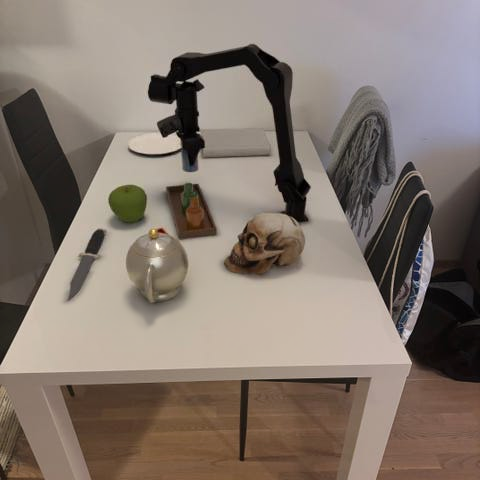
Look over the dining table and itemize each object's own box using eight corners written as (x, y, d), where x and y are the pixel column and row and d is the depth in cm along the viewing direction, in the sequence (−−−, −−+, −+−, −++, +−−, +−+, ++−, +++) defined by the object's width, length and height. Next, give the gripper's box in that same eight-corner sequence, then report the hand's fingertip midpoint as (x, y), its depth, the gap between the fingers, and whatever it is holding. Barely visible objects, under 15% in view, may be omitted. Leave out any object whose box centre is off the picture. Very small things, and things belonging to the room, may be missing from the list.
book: (200, 129, 180) (262, 127, 182) (200, 139, 183) (262, 137, 185) (203, 148, 167) (270, 145, 169) (203, 158, 169) (270, 156, 171)
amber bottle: (206, 231, 130) (204, 203, 124) (188, 233, 129) (186, 205, 123) (202, 223, 133) (201, 195, 128) (185, 225, 132) (183, 196, 127)
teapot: (138, 271, 116) (129, 211, 106) (194, 273, 116) (190, 213, 105) (120, 319, 103) (107, 255, 92) (183, 322, 102) (177, 258, 92)
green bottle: (199, 215, 137) (198, 187, 131) (183, 217, 136) (181, 189, 130) (197, 207, 140) (195, 180, 135) (180, 209, 139) (178, 181, 134)
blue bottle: (199, 171, 139) (198, 142, 134) (183, 172, 138) (181, 143, 133) (197, 165, 143) (195, 136, 137) (181, 166, 142) (179, 137, 136)
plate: (119, 154, 171) (118, 149, 170) (141, 134, 186) (141, 130, 185) (173, 160, 167) (173, 155, 166) (192, 139, 183) (192, 135, 182)
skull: (218, 264, 118) (222, 215, 110) (260, 243, 130) (267, 196, 122) (268, 291, 111) (277, 240, 103) (307, 266, 123) (318, 218, 115)
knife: (110, 233, 130) (91, 230, 129) (109, 228, 128) (91, 225, 128) (80, 305, 108) (57, 302, 108) (79, 299, 107) (57, 296, 106)
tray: (216, 234, 130) (216, 228, 128) (179, 239, 128) (178, 232, 127) (198, 189, 150) (198, 183, 149) (166, 192, 149) (165, 186, 147)
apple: (129, 207, 141) (124, 175, 135) (157, 216, 137) (153, 183, 131) (104, 222, 134) (97, 189, 128) (132, 232, 130) (127, 199, 124)
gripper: (153, 97, 135) (159, 152, 145) (160, 119, 121) (166, 178, 131) (192, 95, 137) (195, 149, 147) (204, 116, 123) (206, 174, 133)
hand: (190, 162), depth 139 cm, fingers closed on blue bottle, 5 cm apart
